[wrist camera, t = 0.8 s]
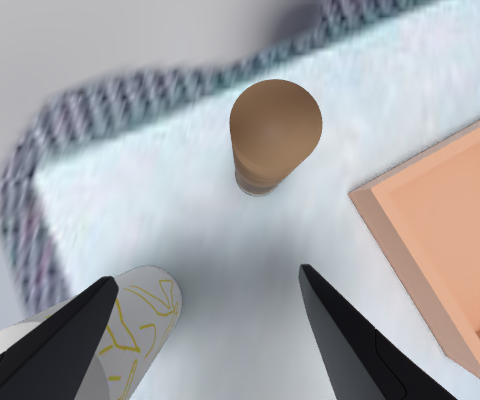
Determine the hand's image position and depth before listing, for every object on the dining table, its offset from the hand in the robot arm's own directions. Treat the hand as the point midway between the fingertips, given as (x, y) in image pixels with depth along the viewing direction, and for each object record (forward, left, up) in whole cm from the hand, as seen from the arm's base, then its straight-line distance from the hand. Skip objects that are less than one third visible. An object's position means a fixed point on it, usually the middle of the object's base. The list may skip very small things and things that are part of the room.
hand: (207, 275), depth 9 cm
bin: (-12, -25, -13) cm, 30 cm away
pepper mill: (+5, -7, -13) cm, 16 cm away
